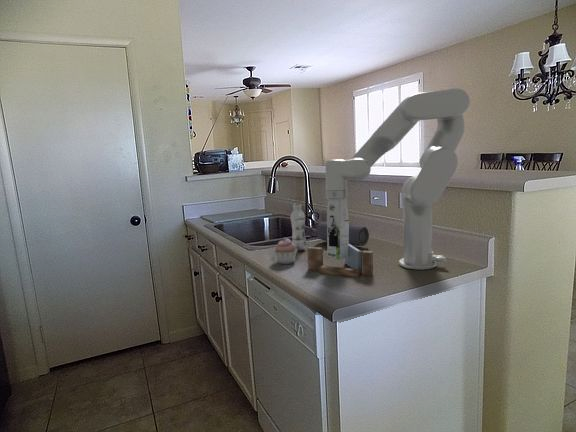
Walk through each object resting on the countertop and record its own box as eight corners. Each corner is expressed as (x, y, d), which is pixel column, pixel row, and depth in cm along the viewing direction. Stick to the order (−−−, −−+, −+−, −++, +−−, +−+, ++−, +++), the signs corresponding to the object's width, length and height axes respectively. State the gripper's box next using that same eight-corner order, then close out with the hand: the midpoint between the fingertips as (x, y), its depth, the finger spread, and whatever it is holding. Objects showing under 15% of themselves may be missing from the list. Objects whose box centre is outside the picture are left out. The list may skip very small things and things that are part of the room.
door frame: (373, 274, 127) (372, 251, 126) (370, 278, 124) (369, 254, 122) (310, 268, 138) (309, 246, 136) (306, 271, 134) (304, 249, 133)
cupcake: (270, 261, 149) (268, 236, 147) (291, 257, 153) (289, 233, 151) (281, 267, 141) (279, 241, 139) (302, 262, 145) (301, 237, 143)
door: (363, 273, 128) (362, 251, 126) (359, 274, 128) (359, 251, 126) (348, 262, 141) (347, 242, 140) (344, 262, 141) (344, 242, 140)
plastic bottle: (290, 252, 161) (288, 205, 158) (293, 248, 168) (290, 203, 164) (305, 251, 160) (303, 205, 157) (307, 247, 167) (305, 202, 163)
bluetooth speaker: (370, 246, 164) (369, 223, 162) (357, 251, 157) (357, 227, 156) (328, 239, 180) (327, 219, 178) (316, 243, 173) (315, 222, 171)
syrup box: (326, 257, 137) (326, 217, 135) (338, 254, 141) (337, 215, 139) (338, 259, 133) (337, 219, 131) (349, 257, 136) (349, 217, 134)
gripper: (338, 198, 124) (339, 250, 127) (354, 192, 139) (354, 238, 142) (317, 197, 127) (318, 248, 130) (335, 191, 143) (335, 237, 146)
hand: (337, 243), depth 136 cm, fingers closed on syrup box, 7 cm apart
